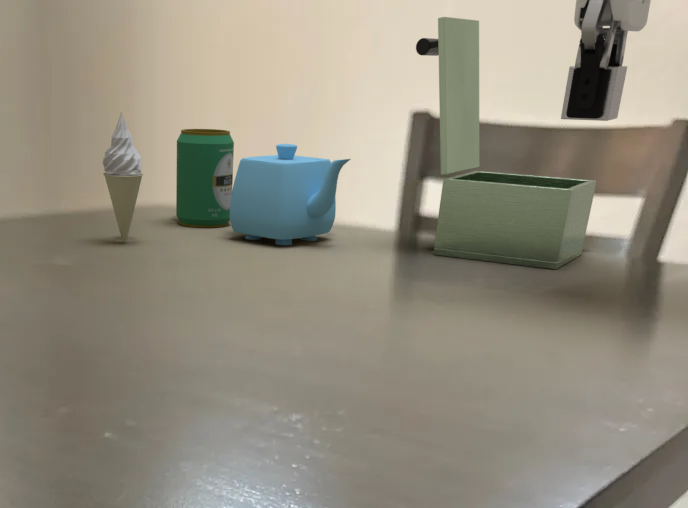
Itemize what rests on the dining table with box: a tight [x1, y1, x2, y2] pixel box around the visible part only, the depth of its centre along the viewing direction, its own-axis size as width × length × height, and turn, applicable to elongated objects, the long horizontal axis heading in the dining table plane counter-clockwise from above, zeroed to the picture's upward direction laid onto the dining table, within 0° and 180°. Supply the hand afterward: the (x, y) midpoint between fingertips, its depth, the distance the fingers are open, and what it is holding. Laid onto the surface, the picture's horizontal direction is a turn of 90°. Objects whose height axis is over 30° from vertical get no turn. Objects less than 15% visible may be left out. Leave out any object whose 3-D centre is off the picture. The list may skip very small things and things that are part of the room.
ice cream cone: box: [102, 111, 144, 244], centre depth 122 cm, size 5×5×15 cm
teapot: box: [229, 143, 352, 246], centre depth 128 cm, size 12×18×12 cm
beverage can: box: [175, 128, 235, 229], centre depth 138 cm, size 8×8×12 cm
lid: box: [415, 16, 480, 176], centre depth 121 cm, size 16×13×5 cm
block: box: [560, 65, 628, 122], centre depth 93 cm, size 4×4×4 cm
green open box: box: [432, 170, 597, 270], centre depth 123 cm, size 16×13×9 cm
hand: (590, 114), depth 94 cm, fingers closed on block, 4 cm apart
